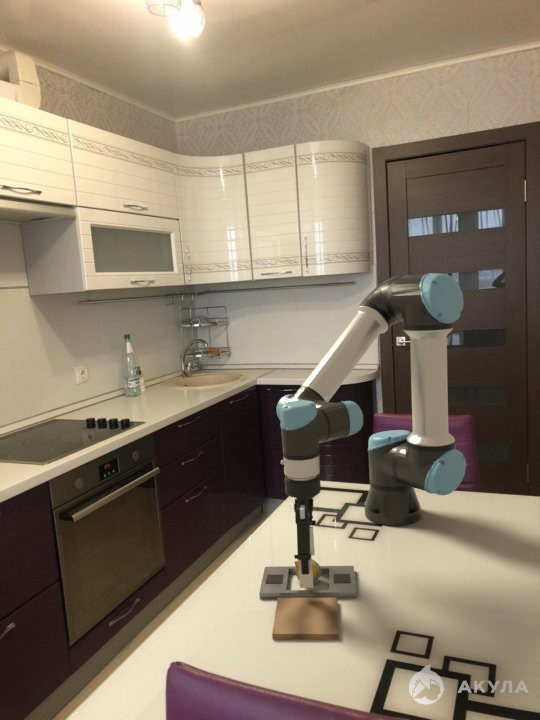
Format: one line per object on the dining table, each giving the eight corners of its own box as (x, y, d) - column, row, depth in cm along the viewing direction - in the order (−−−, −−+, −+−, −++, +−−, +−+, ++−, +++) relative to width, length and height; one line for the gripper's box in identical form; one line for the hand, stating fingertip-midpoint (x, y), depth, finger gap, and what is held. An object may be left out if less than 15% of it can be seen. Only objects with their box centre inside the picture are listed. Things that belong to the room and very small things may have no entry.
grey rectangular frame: (354, 570, 126) (353, 565, 125) (356, 597, 115) (356, 591, 114) (265, 571, 128) (264, 566, 127) (259, 598, 117) (259, 592, 117)
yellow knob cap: (328, 584, 122) (308, 569, 115) (307, 592, 123) (285, 578, 116) (323, 561, 125) (303, 545, 119) (302, 569, 127) (281, 554, 120)
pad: (337, 602, 114) (336, 597, 113) (338, 639, 102) (338, 633, 102) (278, 602, 115) (277, 597, 115) (272, 638, 103) (272, 633, 103)
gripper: (288, 457, 131) (293, 543, 133) (279, 497, 106) (286, 602, 109) (320, 456, 130) (325, 543, 133) (319, 496, 105) (325, 602, 108)
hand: (307, 570), depth 121 cm, fingers open, 13 cm apart
